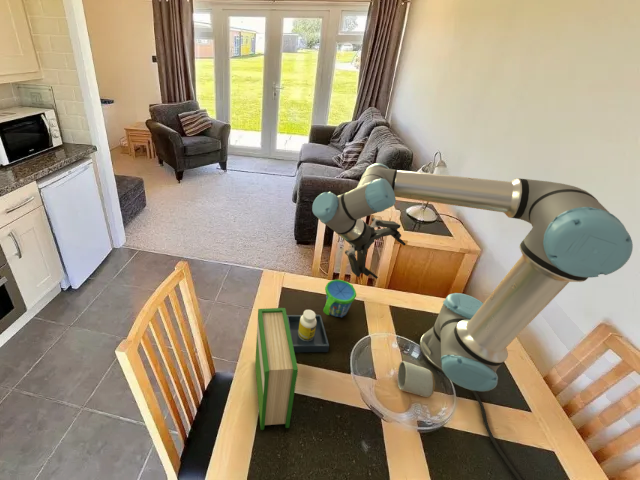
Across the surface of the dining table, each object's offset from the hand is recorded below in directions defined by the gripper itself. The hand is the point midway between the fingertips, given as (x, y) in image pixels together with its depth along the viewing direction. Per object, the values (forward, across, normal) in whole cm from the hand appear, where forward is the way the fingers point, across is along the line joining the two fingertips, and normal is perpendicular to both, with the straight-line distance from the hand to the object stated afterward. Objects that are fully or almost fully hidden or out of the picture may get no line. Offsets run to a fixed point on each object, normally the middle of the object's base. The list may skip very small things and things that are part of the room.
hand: (388, 259), depth 100 cm
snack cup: (+12, +26, -11) cm, 31 cm away
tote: (0, +37, -5) cm, 38 cm away
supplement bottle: (-1, +37, -5) cm, 37 cm away
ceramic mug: (+17, +25, +20) cm, 36 cm away
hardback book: (-14, +51, +8) cm, 53 cm away
